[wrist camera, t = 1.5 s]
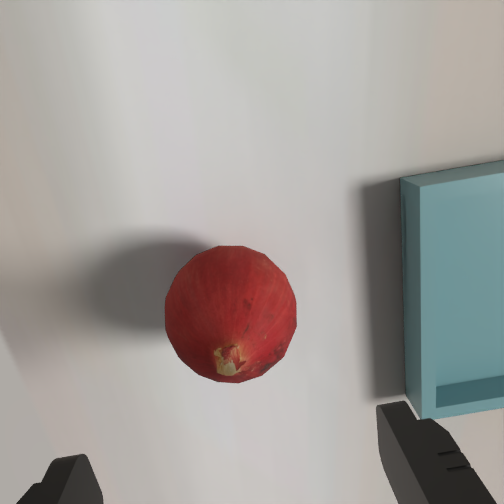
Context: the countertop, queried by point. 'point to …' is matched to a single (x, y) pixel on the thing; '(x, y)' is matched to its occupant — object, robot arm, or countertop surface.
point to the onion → (230, 314)
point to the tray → (454, 289)
